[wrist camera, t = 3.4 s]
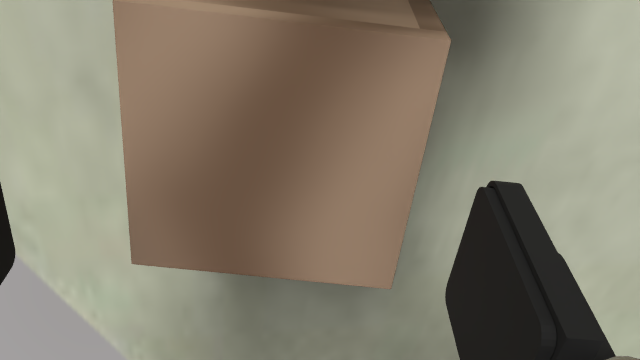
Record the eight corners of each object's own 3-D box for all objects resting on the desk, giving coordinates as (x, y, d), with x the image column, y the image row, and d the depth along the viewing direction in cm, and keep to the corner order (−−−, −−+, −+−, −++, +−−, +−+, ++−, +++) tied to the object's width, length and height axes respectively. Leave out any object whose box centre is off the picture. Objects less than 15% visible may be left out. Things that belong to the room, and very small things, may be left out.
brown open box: (412, -32, 18) (451, 40, 13) (374, 162, 22) (391, 289, 16) (183, -61, 18) (112, 0, 12) (185, 142, 22) (131, 263, 16)
